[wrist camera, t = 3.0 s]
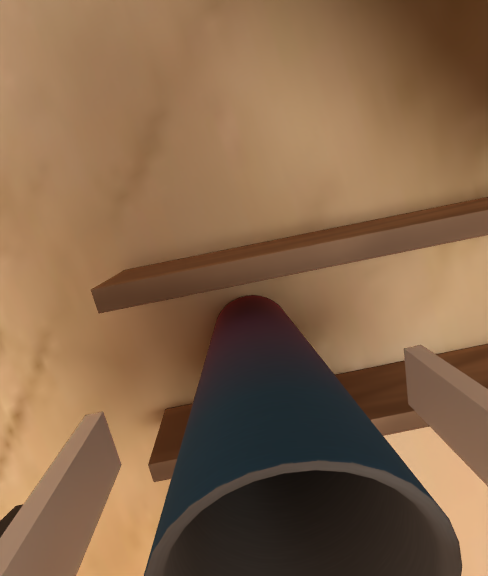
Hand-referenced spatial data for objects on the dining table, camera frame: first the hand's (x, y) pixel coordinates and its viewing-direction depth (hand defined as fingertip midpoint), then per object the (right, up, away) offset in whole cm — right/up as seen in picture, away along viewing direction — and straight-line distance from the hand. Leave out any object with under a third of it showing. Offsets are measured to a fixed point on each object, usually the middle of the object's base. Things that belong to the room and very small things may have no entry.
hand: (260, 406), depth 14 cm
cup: (0, +2, +8) cm, 8 cm away
